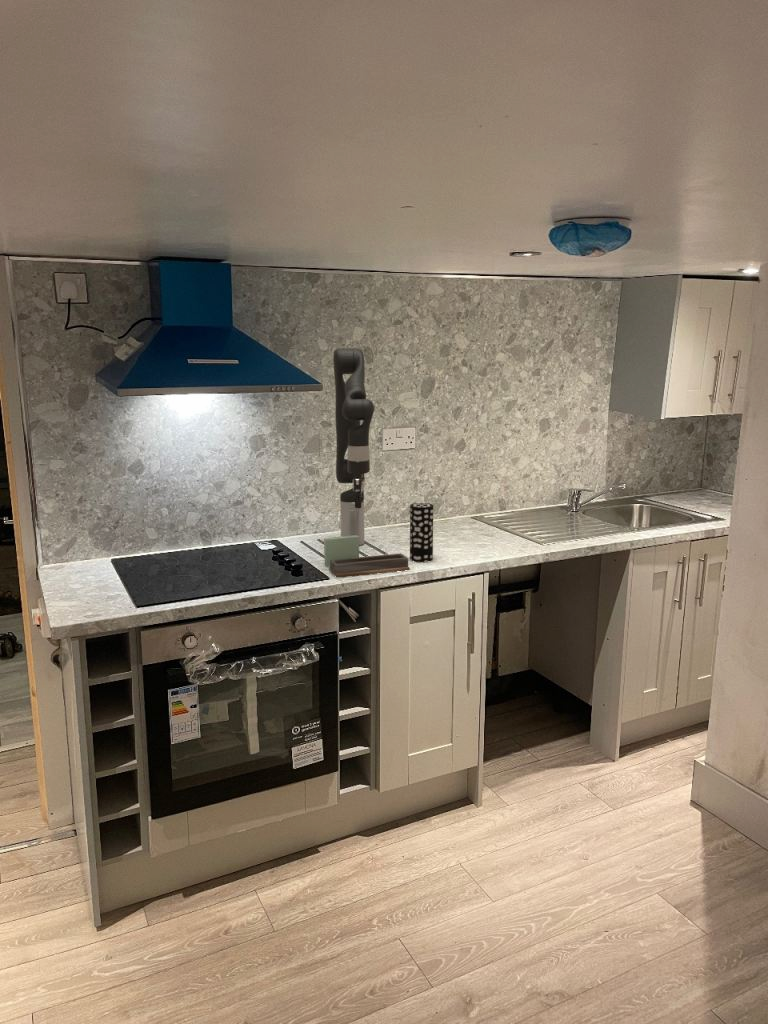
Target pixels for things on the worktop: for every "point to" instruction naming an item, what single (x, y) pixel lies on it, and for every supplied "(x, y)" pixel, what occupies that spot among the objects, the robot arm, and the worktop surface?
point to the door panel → (340, 548)
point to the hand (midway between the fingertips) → (359, 505)
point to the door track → (369, 565)
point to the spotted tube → (421, 532)
